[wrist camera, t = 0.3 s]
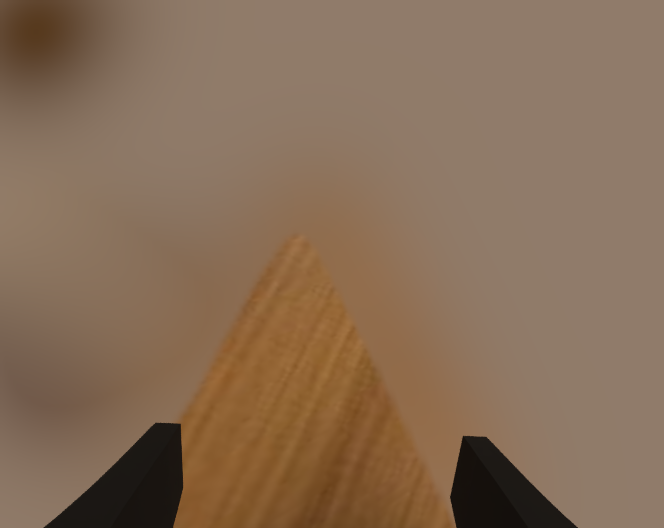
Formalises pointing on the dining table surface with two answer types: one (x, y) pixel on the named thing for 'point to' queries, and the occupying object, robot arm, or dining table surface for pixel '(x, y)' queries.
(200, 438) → the dining table surface
